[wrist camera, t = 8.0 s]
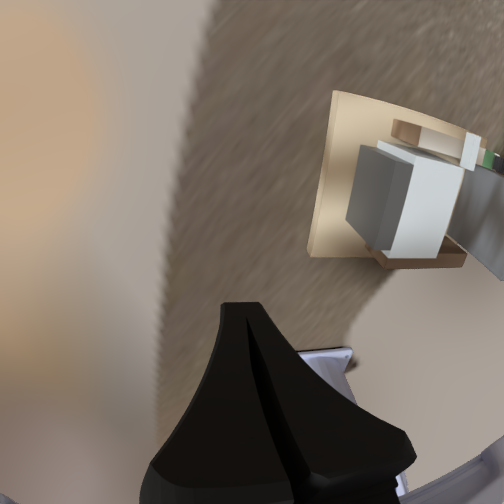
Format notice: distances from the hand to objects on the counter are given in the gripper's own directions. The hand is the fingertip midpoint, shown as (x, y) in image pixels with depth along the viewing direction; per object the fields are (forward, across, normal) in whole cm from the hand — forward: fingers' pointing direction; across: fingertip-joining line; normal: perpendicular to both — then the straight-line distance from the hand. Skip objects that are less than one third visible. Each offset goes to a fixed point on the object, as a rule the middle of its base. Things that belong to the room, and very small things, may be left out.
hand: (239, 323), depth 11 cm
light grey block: (+9, -11, -4) cm, 14 cm away
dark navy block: (+5, -17, -7) cm, 19 cm away
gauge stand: (+10, -13, -3) cm, 17 cm away
